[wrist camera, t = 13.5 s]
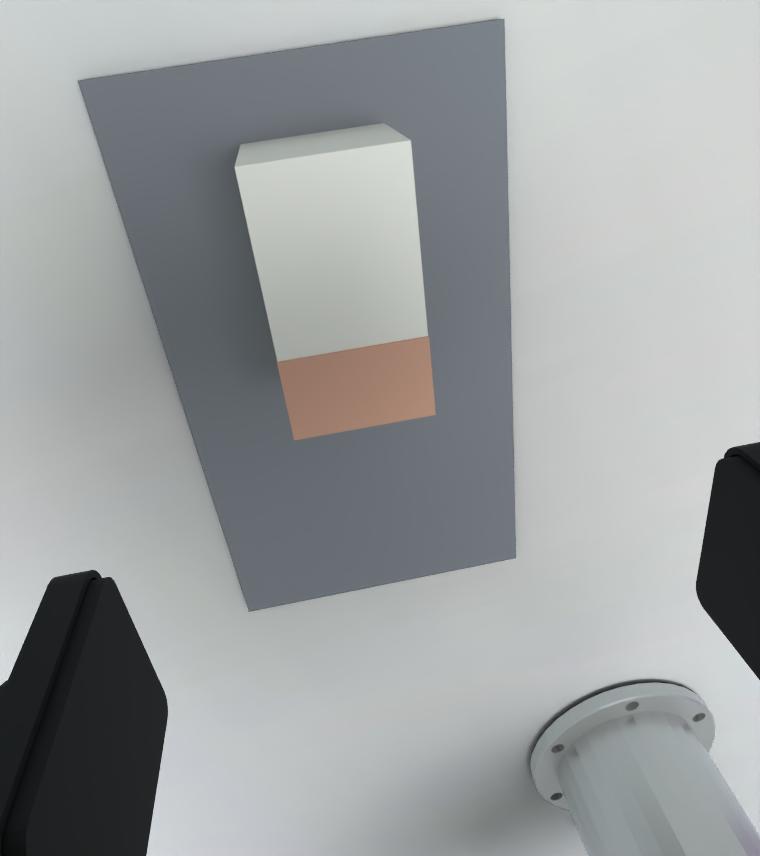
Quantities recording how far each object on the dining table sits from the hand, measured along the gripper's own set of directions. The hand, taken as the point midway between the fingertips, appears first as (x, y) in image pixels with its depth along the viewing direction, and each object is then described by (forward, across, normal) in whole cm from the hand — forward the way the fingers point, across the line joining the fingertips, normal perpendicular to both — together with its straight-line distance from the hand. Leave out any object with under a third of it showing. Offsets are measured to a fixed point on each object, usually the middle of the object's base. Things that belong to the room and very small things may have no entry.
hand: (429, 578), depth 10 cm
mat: (+18, 0, +5) cm, 18 cm away
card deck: (+17, 0, 0) cm, 17 cm away
